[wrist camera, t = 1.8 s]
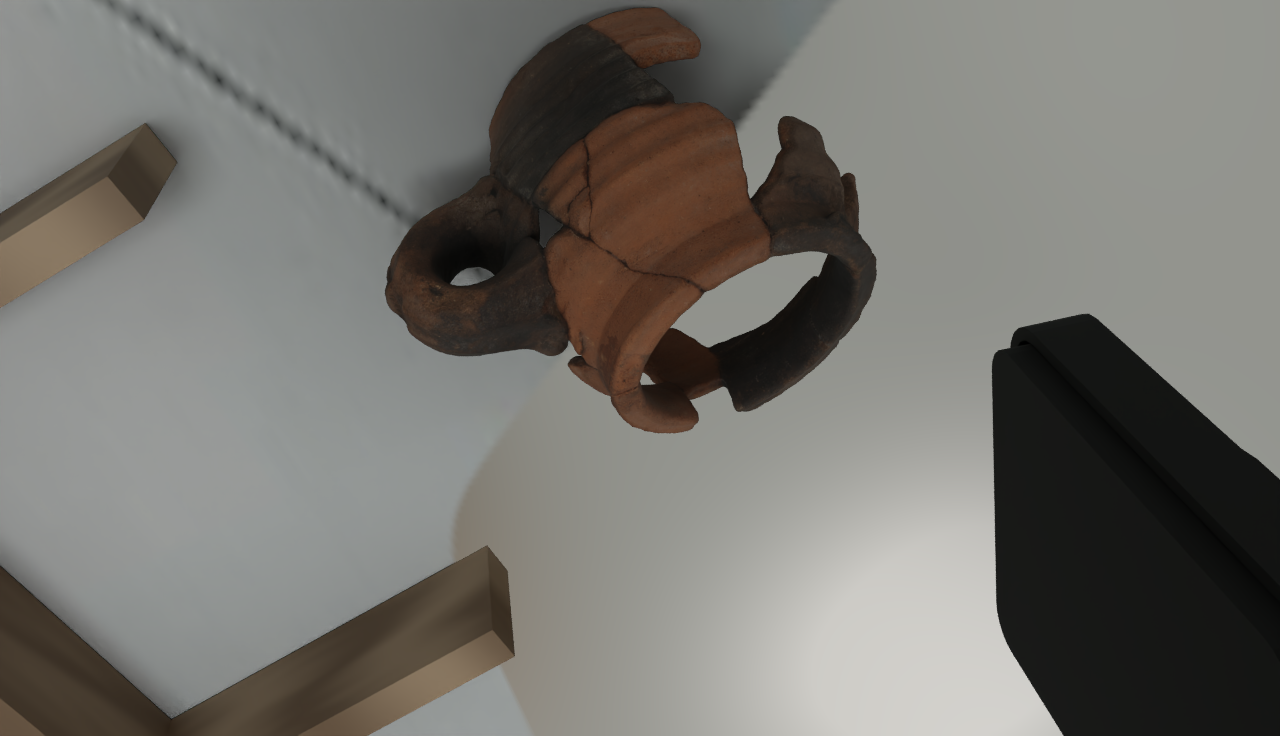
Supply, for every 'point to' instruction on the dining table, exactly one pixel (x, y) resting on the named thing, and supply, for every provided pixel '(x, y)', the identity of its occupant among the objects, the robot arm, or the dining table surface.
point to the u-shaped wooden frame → (293, 686)
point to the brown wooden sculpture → (633, 232)
